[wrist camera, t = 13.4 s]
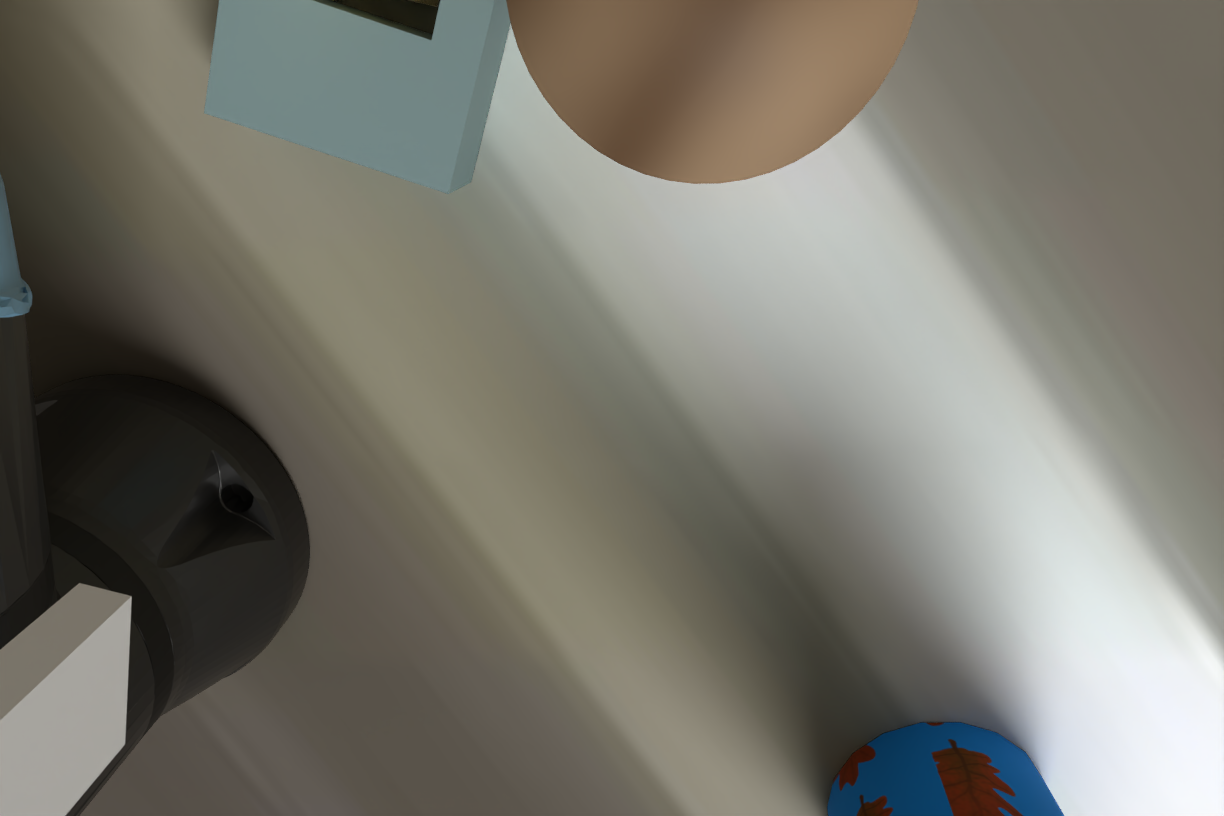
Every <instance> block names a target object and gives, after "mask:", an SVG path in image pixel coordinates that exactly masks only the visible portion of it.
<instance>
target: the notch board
mask: <svg viewBox="0 0 1224 816" xmlns="http://www.w3.org/2000/svg"><path fill="white" fill-rule="evenodd" d="M510 23H511V22H510V18H509V13H508V7H507V2H506V0H440V4H439V8H438V13H437V17H436V22H435V26H434V31H433V35H432V34H429V33H426V32H423V31H420V30H417V29H414V28H411V27H408V26H405V25H402V24H400V23H397V22H394V21H391V20H388V19H385V18H382V17H379V16H376V15H373V14H370V13H367V12H364V11H361V10H358V9H355V8H352V7H349V6H346V5H343V4H340V3H337V2H334V1H331V0H219V6H218V13H217V21H216V28H215V36H214V43H213V51H212V58H211V66H210V73H209V81H208V88H207V96H206V103H205V111H204V113H205V114H208V115H211V116H215V117H218V118H221V119H224V120H227V121H230V122H233V123H236V124H239V125H242V126H245V127H248V128H251V129H254V130H257V131H260V132H263V133H266V134H269V135H272V136H275V137H278V138H281V139H284V140H287V141H290V142H293V143H296V144H299V145H302V146H305V147H308V148H311V149H314V150H317V151H320V152H323V153H326V154H329V155H332V156H335V157H338V158H341V159H344V160H347V161H350V162H353V163H356V164H359V165H362V166H365V167H368V168H371V169H374V170H377V171H380V172H383V173H386V174H389V175H392V176H396V177H399V178H402V179H405V180H408V181H411V182H414V183H417V184H420V185H423V186H426V187H429V188H432V189H435V190H438V191H441V192H444V193H447V194H449V193H451V192H453V191H455V190H457V189H459V188H461V187H463V186H464V185H466V184H468V183H470V182H471V180H472V176H473V172H474V168H475V164H476V160H477V156H478V152H479V148H480V144H481V140H482V136H483V132H484V128H485V124H486V120H487V116H488V112H489V108H490V104H491V100H492V96H493V92H494V88H495V83H496V79H497V75H498V71H499V67H500V63H501V59H502V55H503V51H504V47H505V43H506V39H507V35H508V31H509V27H510Z"/></svg>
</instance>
